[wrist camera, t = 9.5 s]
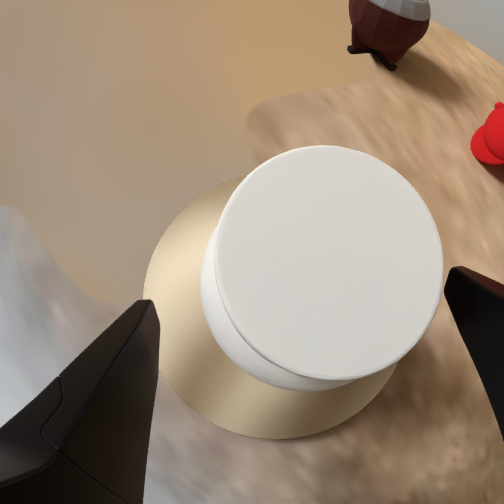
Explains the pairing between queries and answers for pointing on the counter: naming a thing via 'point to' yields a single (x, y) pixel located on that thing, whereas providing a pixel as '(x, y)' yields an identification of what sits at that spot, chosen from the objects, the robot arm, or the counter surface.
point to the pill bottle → (321, 269)
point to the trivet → (213, 357)
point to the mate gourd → (387, 27)
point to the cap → (490, 138)
